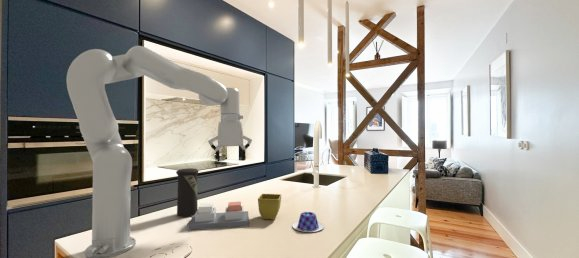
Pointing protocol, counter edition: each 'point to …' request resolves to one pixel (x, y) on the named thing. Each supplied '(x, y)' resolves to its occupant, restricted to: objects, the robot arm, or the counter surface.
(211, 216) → the push button panel
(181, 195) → the container
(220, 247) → the counter surface
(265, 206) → the flower pot
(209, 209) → the white key
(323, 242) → the counter surface
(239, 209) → the brick key
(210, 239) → the counter surface
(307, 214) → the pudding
